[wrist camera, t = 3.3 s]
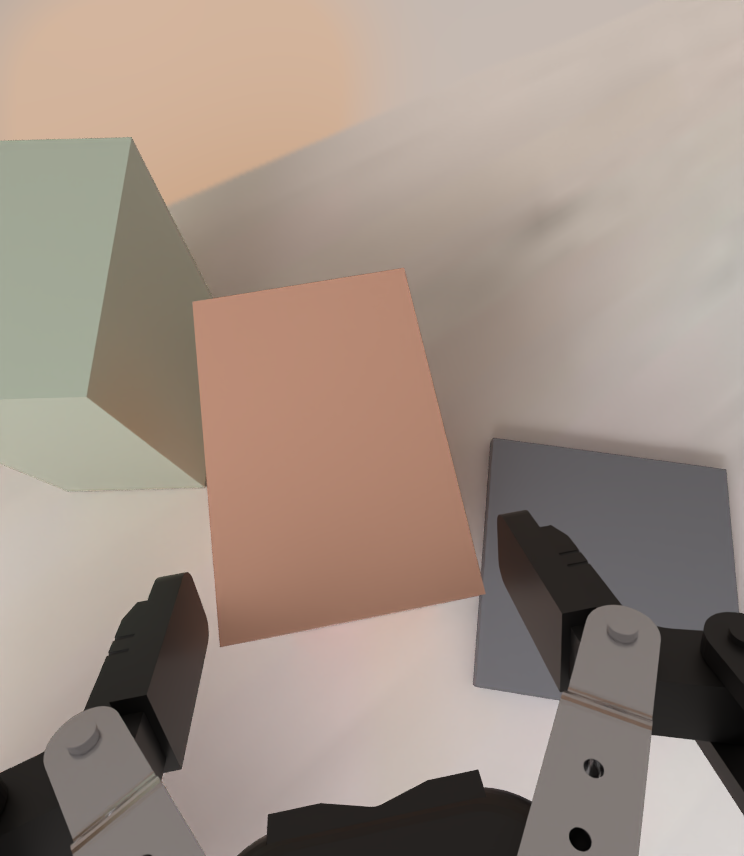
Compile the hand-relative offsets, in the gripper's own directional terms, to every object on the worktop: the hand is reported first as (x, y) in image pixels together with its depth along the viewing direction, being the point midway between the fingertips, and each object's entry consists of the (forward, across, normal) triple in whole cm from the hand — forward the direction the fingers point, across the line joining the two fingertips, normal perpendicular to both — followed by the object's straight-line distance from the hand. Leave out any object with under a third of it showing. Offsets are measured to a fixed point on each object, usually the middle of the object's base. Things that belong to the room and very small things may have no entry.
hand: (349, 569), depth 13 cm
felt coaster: (+5, -10, +7) cm, 13 cm away
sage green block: (+13, +8, -1) cm, 16 cm away
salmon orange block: (+8, 0, +4) cm, 9 cm away
